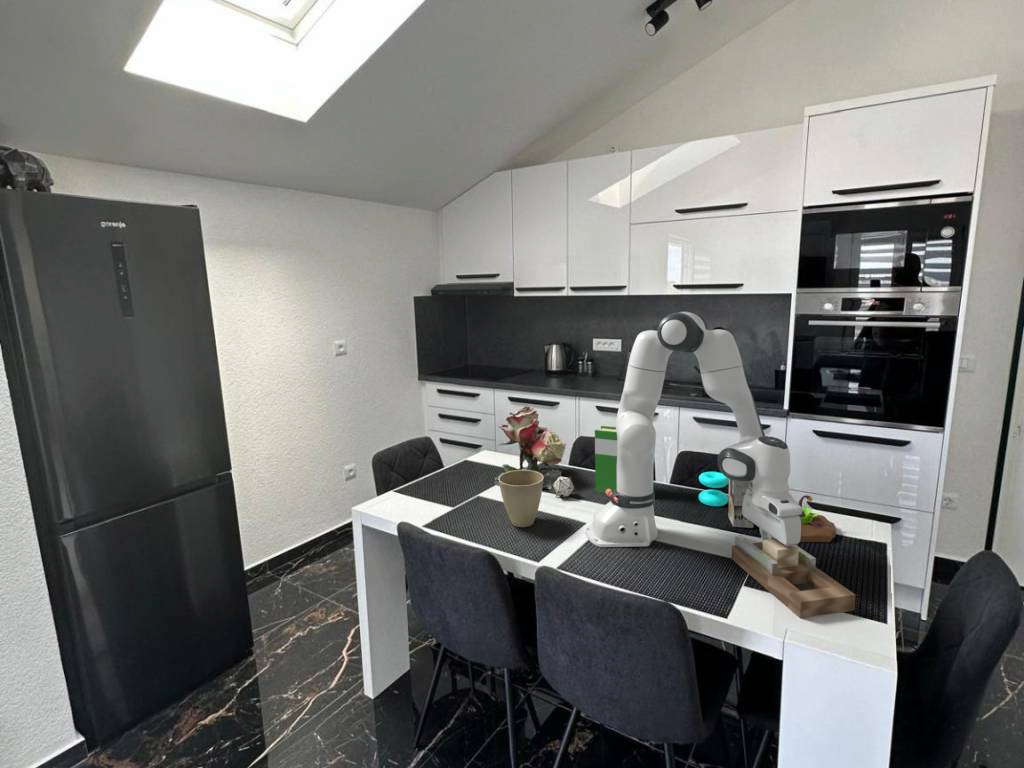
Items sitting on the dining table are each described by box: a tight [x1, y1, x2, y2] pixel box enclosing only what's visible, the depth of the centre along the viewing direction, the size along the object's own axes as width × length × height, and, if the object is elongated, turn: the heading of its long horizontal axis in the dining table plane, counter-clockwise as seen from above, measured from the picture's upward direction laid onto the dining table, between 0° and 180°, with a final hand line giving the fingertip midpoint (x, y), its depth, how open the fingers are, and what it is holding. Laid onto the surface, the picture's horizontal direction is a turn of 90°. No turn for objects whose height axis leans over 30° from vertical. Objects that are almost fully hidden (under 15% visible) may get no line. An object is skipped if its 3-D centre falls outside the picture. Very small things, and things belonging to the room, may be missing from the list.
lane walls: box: [734, 534, 817, 575], centre depth 143 cm, size 12×16×3 cm
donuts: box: [698, 471, 729, 507], centre depth 190 cm, size 10×10×10 cm
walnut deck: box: [730, 541, 856, 619], centre depth 138 cm, size 14×28×4 cm, turn 9°
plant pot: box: [498, 470, 544, 528], centre depth 179 cm, size 15×15×16 cm
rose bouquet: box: [493, 405, 566, 490], centre depth 220 cm, size 26×29×30 cm
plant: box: [798, 494, 837, 543], centre depth 168 cm, size 20×20×11 cm
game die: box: [550, 475, 577, 500], centre depth 201 cm, size 9×8×10 cm
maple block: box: [763, 538, 800, 568], centre depth 141 cm, size 6×6×5 cm
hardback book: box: [594, 425, 617, 494], centre depth 202 cm, size 18×7×24 cm, turn 61°
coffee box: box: [727, 479, 755, 529], centre depth 173 cm, size 9×6×16 cm
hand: (768, 545), depth 146 cm, fingers closed
